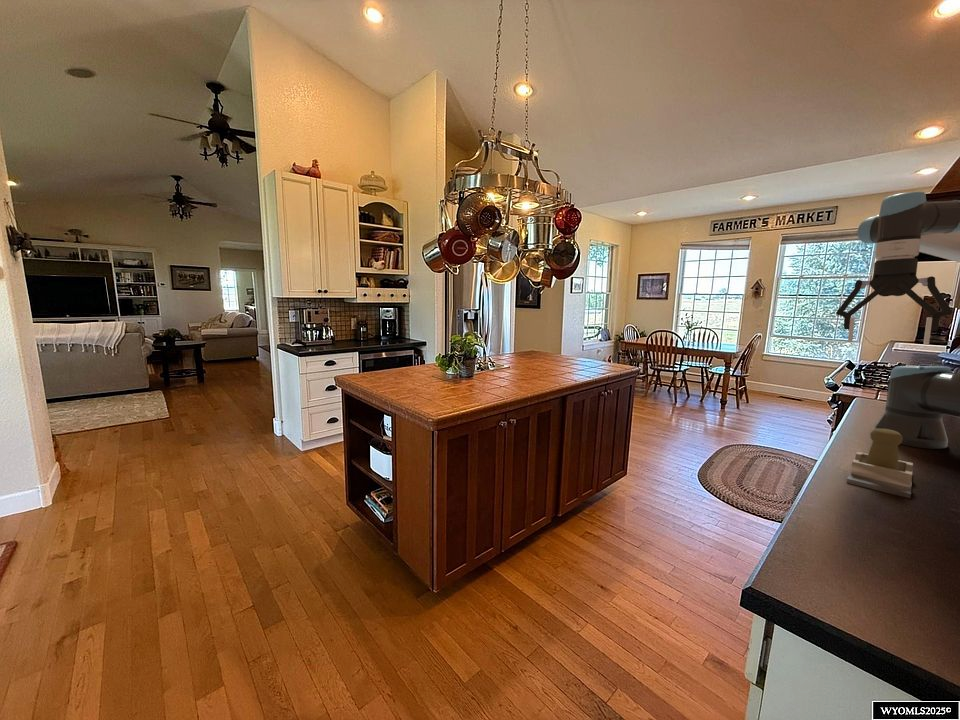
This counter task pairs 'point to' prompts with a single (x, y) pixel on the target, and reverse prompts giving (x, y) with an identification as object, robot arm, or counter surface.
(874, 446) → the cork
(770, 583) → the counter surface
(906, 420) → the robot arm
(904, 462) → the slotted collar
